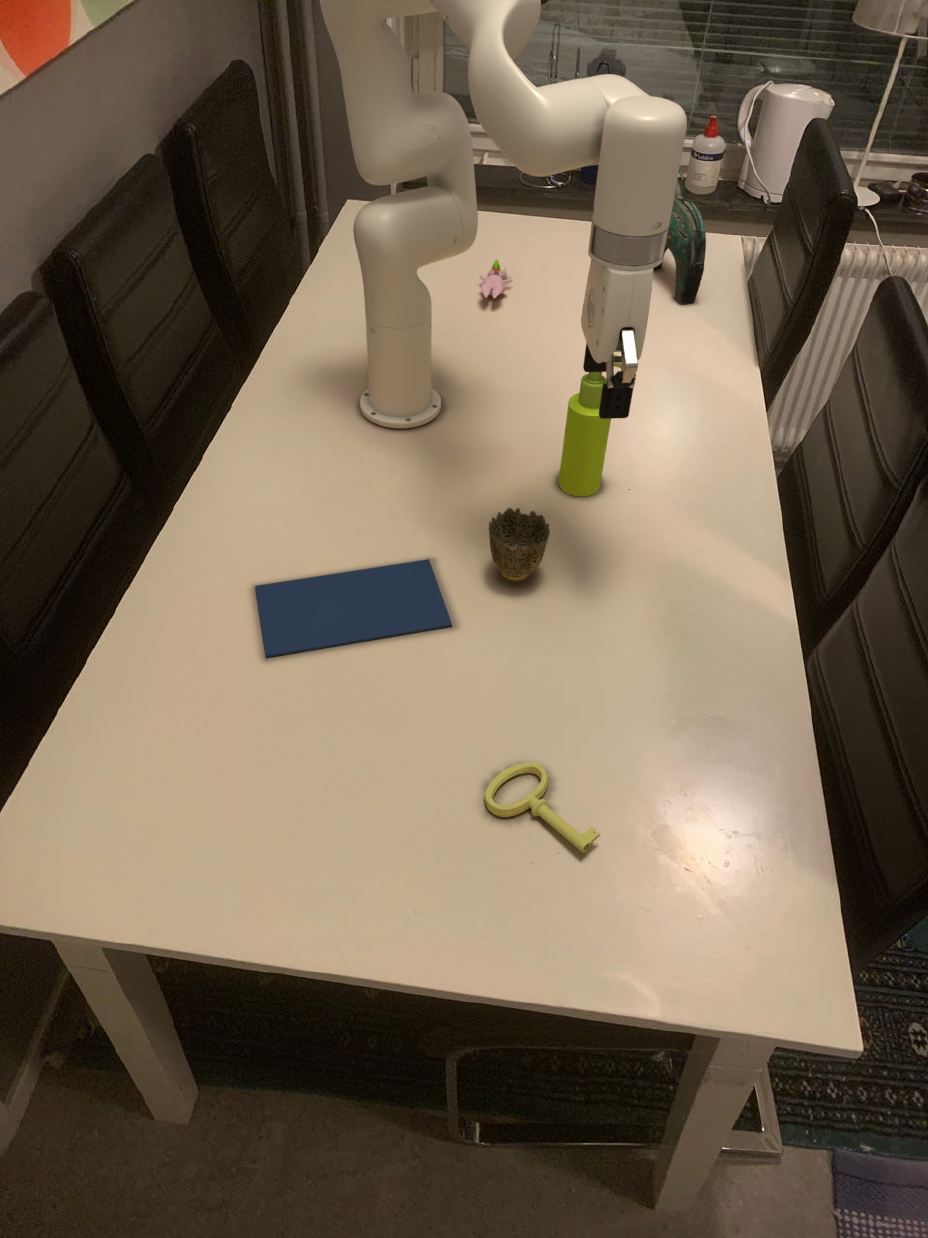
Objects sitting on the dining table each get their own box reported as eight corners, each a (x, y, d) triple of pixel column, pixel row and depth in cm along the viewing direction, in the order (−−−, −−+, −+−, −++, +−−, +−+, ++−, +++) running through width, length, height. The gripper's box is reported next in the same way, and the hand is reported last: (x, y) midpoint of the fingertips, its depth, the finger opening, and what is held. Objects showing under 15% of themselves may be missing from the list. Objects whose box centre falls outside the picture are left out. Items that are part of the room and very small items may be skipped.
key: (587, 863, 87) (590, 851, 86) (475, 806, 91) (476, 794, 90) (617, 808, 92) (620, 796, 90) (509, 756, 96) (510, 744, 94)
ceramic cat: (629, 261, 181) (646, 154, 167) (658, 258, 183) (678, 152, 169) (674, 307, 168) (697, 195, 154) (706, 303, 170) (731, 192, 155)
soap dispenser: (605, 500, 127) (627, 371, 113) (555, 493, 128) (572, 364, 114) (608, 475, 131) (631, 348, 117) (561, 468, 132) (577, 341, 118)
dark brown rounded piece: (551, 563, 117) (557, 515, 112) (535, 601, 112) (541, 552, 107) (495, 550, 119) (499, 501, 113) (477, 586, 114) (480, 537, 108)
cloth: (255, 588, 113) (254, 585, 112) (429, 561, 117) (429, 559, 117) (266, 658, 104) (265, 655, 104) (452, 626, 109) (452, 624, 109)
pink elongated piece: (481, 282, 176) (472, 305, 164) (483, 249, 173) (473, 271, 160) (513, 285, 176) (506, 308, 163) (516, 252, 172) (509, 274, 160)
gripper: (575, 206, 96) (559, 355, 108) (606, 279, 84) (585, 437, 96) (645, 206, 97) (622, 354, 109) (686, 278, 85) (654, 435, 97)
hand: (604, 393), depth 102 cm, fingers open, 9 cm apart
